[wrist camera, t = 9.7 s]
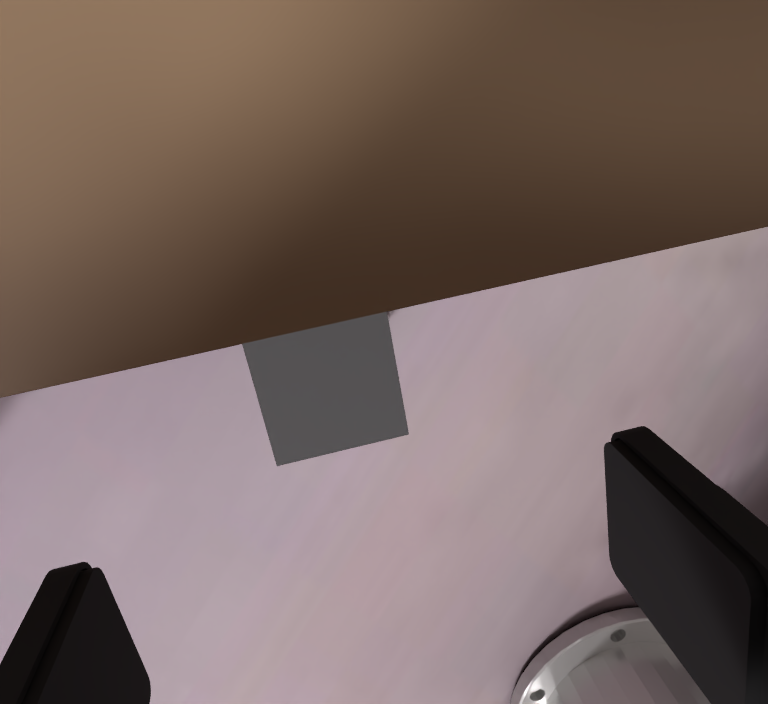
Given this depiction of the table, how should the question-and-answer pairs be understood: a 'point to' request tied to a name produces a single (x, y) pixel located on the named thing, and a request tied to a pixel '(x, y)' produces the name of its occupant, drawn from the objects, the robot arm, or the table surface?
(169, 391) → the table surface
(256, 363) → the blade tool
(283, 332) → the cabinet
